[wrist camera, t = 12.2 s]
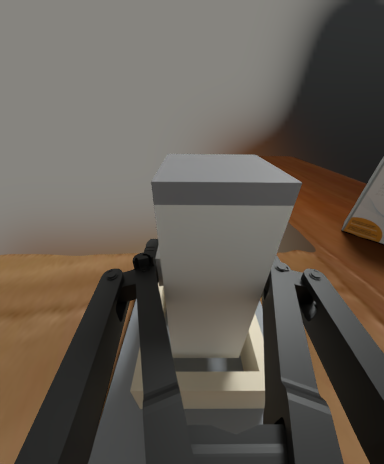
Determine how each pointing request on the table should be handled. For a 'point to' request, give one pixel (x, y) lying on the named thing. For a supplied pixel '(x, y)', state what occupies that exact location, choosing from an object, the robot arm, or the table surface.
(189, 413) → the holder
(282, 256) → the table surface
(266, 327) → the robot arm
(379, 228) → the hard drive box
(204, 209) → the white grey-topped block
